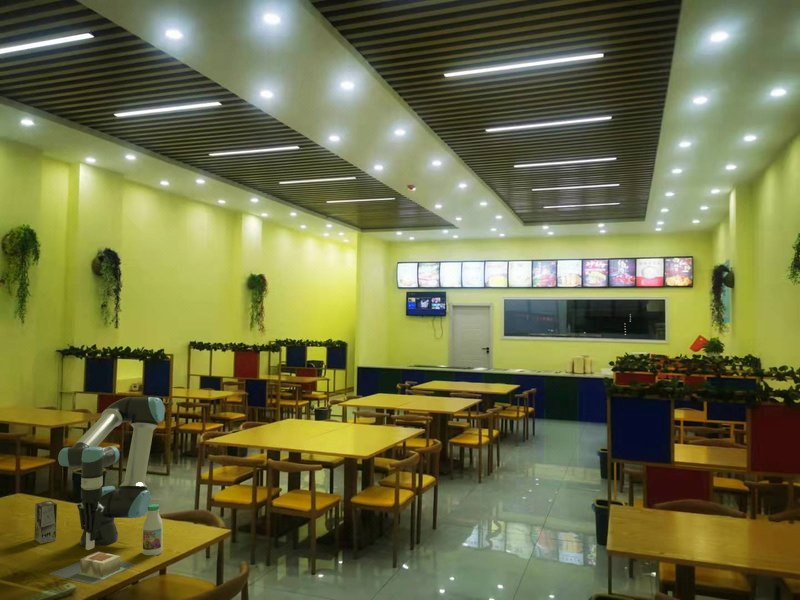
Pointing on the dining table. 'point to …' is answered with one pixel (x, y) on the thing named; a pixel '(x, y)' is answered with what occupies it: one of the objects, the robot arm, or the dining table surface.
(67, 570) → the topple mat
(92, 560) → the maple block
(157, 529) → the milk bottle
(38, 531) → the coffee box
